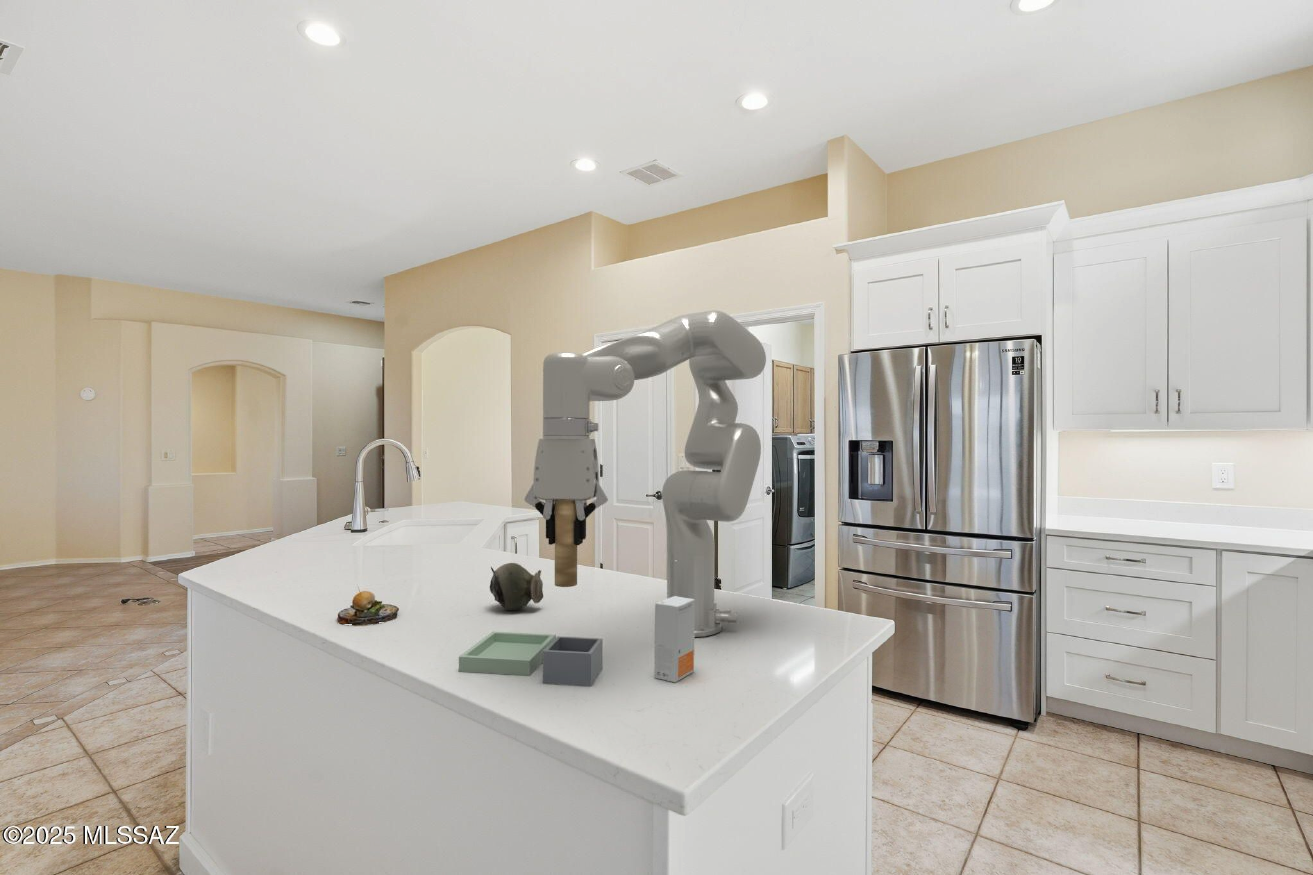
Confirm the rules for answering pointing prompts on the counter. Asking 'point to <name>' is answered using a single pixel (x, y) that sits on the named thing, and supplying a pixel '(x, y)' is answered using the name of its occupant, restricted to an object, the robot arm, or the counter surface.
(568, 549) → the dowel
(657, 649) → the skincare box
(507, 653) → the tray
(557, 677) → the open box
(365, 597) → the plate of food
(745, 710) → the counter surface
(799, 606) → the counter surface
